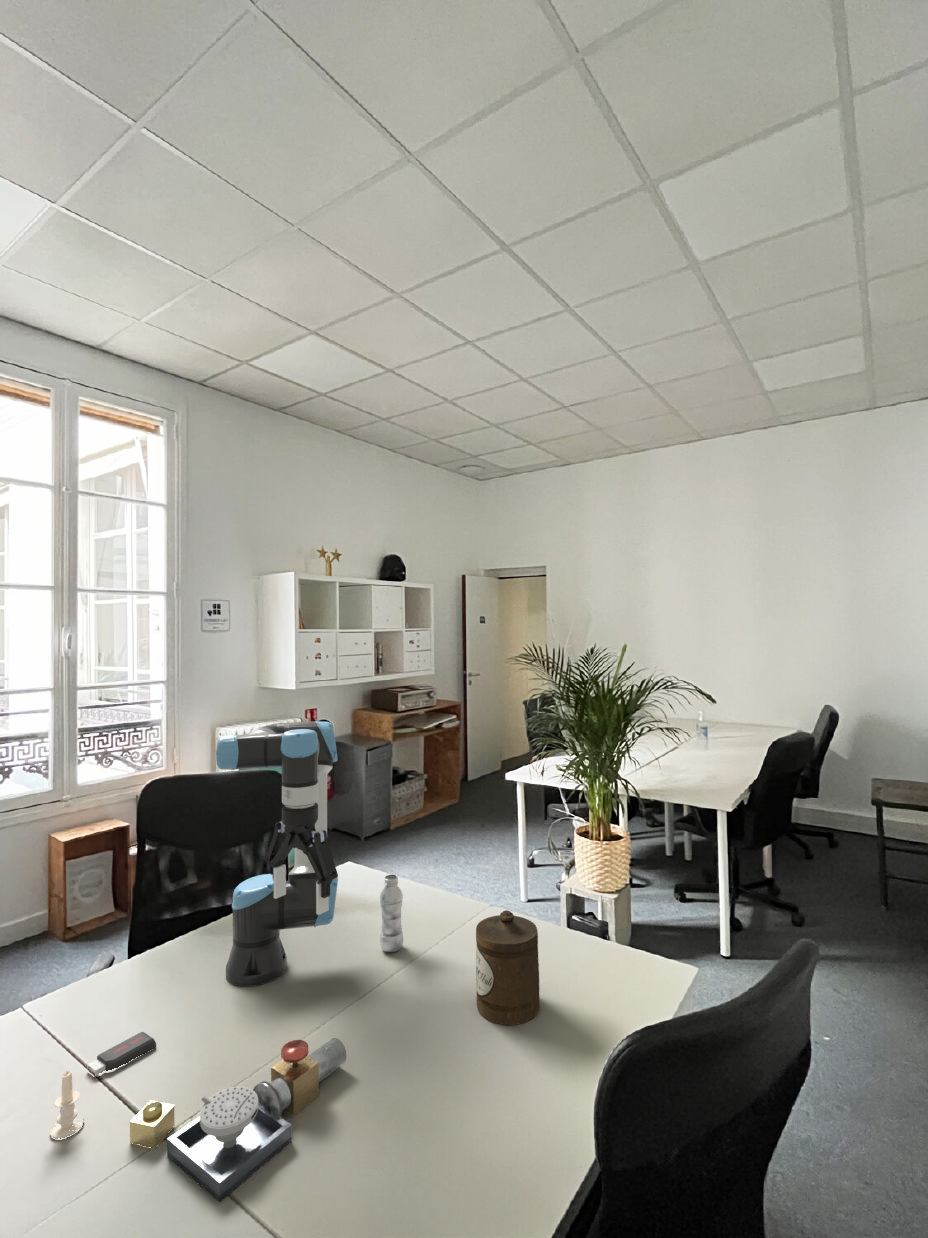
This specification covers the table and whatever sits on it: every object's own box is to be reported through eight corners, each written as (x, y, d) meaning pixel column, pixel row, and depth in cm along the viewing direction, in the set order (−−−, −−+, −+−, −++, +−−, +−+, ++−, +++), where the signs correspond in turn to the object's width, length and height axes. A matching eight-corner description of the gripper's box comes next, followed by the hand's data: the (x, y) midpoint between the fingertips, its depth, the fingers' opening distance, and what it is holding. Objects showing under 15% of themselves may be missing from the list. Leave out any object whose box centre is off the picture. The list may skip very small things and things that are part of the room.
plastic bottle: (407, 945, 177) (406, 874, 177) (397, 957, 171) (396, 883, 171) (386, 942, 179) (386, 871, 179) (375, 953, 173) (375, 880, 173)
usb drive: (156, 1049, 135) (156, 1036, 135) (97, 1083, 125) (97, 1069, 125) (143, 1040, 138) (143, 1028, 138) (85, 1072, 128) (85, 1059, 128)
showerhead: (217, 1077, 114) (268, 1084, 112) (217, 1117, 114) (268, 1125, 112) (184, 1117, 105) (239, 1126, 103) (185, 1161, 105) (240, 1171, 103)
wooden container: (476, 987, 156) (476, 898, 157) (536, 988, 156) (536, 898, 156) (476, 1025, 141) (475, 927, 142) (542, 1026, 141) (541, 927, 141)
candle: (47, 1145, 110) (47, 1084, 110) (53, 1123, 114) (52, 1065, 115) (81, 1135, 112) (81, 1076, 112) (86, 1114, 117) (86, 1057, 117)
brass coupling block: (130, 1144, 110) (129, 1117, 110) (150, 1122, 115) (150, 1096, 115) (154, 1150, 109) (154, 1122, 109) (174, 1127, 113) (174, 1100, 113)
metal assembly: (167, 1160, 107) (167, 1100, 107) (313, 1054, 133) (312, 1006, 133) (219, 1206, 98) (219, 1141, 98) (364, 1084, 124) (364, 1032, 125)
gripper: (248, 799, 138) (249, 896, 138) (327, 818, 124) (327, 926, 124) (276, 791, 145) (277, 884, 144) (354, 808, 130) (355, 912, 130)
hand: (300, 904), depth 134 cm, fingers open, 13 cm apart
